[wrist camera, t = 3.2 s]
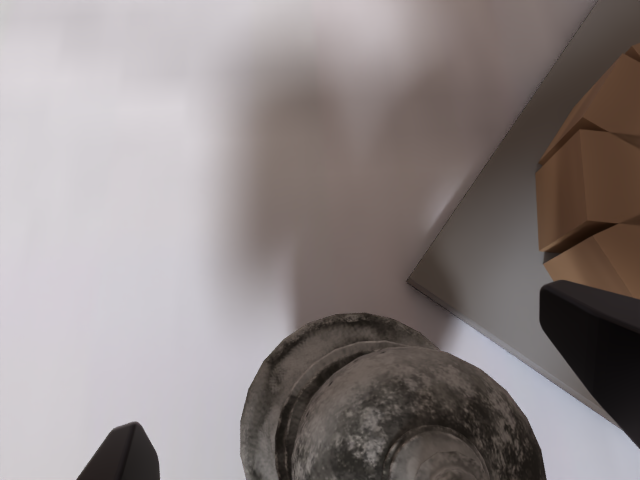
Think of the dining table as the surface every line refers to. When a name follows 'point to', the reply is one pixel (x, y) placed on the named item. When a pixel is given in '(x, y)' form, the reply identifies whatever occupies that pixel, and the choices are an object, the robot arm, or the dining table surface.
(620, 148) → the walnut collar
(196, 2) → the dining table surface
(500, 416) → the salt shaker
